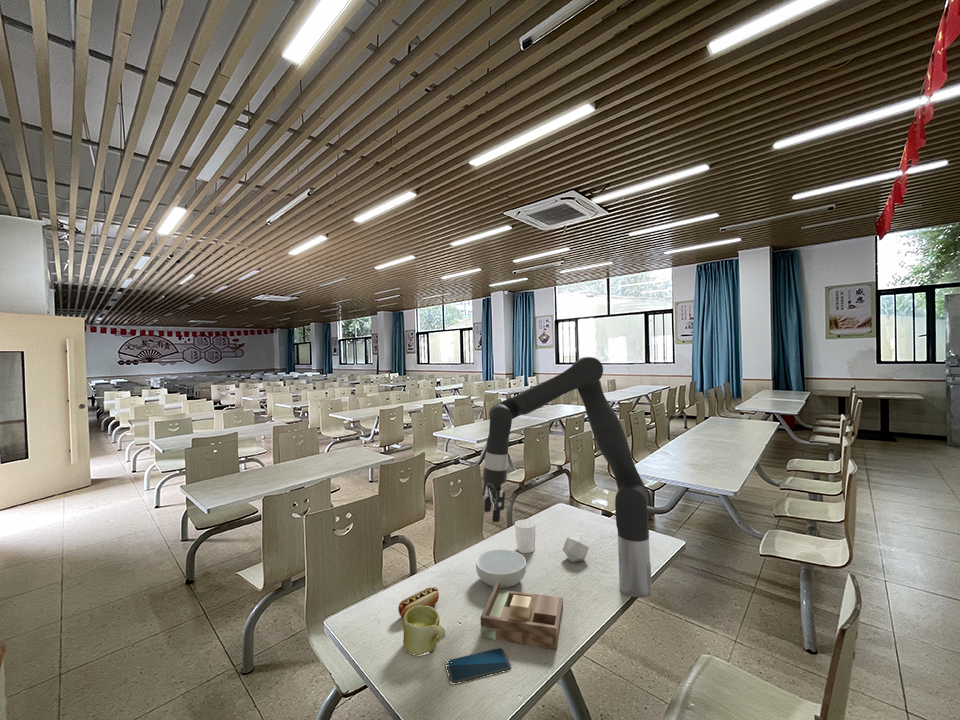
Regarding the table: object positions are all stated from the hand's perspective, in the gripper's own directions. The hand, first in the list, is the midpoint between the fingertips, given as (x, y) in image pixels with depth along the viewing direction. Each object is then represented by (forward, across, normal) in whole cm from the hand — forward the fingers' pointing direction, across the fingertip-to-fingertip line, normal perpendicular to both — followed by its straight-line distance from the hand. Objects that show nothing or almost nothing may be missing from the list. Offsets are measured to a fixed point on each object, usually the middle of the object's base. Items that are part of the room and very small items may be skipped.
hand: (491, 516), depth 135 cm
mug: (+26, -20, +22) cm, 40 cm away
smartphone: (+25, -31, +12) cm, 42 cm away
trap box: (+22, -20, -5) cm, 30 cm away
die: (+19, +6, -37) cm, 42 cm away
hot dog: (+26, -4, +21) cm, 34 cm away
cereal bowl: (+23, +2, -7) cm, 24 cm away
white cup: (+21, +20, -23) cm, 37 cm away
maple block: (+20, -22, -3) cm, 30 cm away
